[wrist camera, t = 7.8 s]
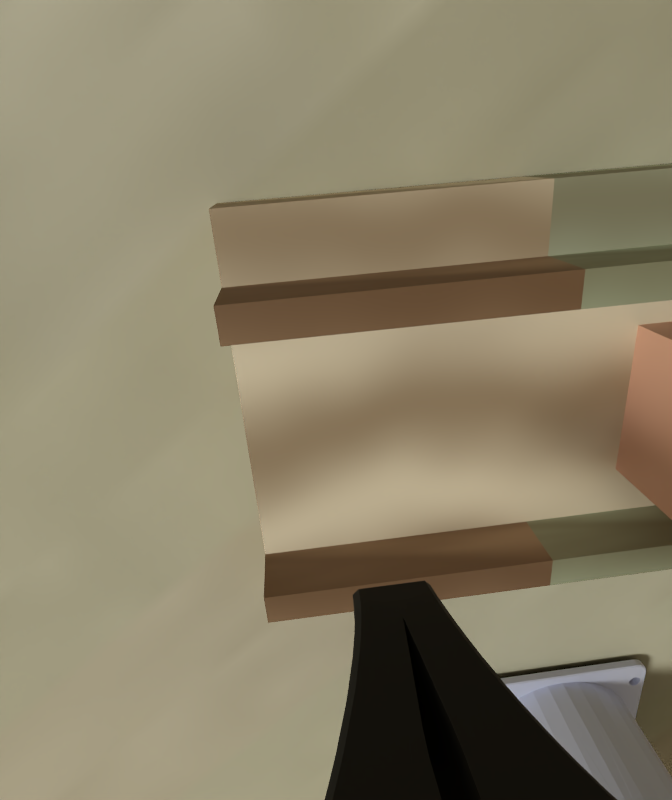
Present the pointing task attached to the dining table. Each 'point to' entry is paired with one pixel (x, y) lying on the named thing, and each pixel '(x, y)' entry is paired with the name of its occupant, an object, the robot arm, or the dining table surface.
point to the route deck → (445, 380)
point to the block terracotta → (649, 417)
